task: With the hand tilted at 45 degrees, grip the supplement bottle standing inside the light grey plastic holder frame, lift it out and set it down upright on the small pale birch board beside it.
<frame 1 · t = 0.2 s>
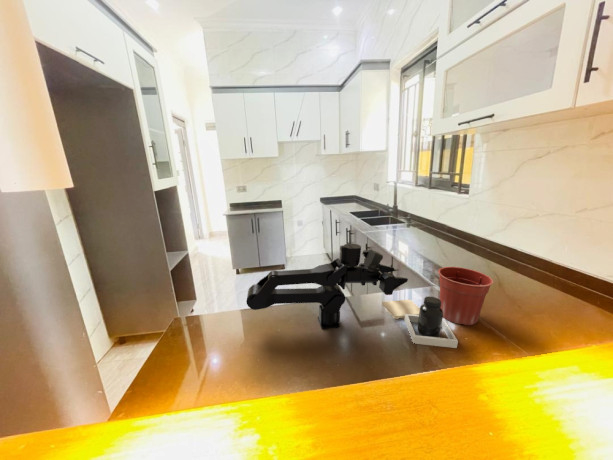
hand: (400, 274, 88), 17 cm above the worktop, tool horizontal, fingers open, 9 cm apart
holder frame: (428, 332, 83), on the worktop
flower pot: (457, 316, 92), on the worktop
birch board: (402, 310, 96), on the worktop
supplement bottle: (428, 333, 83), resting in holder frame
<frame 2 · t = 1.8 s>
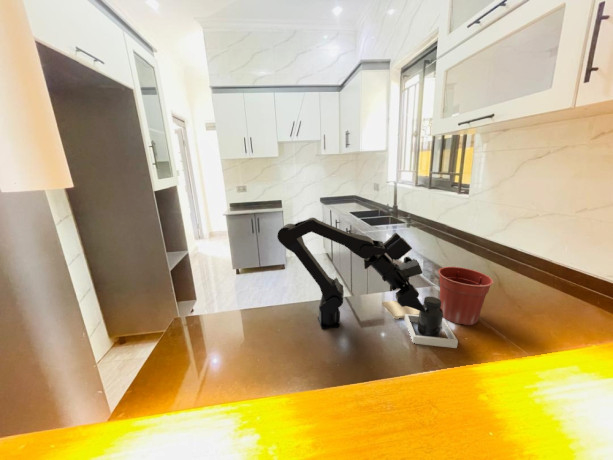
hand: (419, 302, 81), 11 cm above the worktop, tool tilted 45°, fingers open, 9 cm apart
nothing on the worktop moved.
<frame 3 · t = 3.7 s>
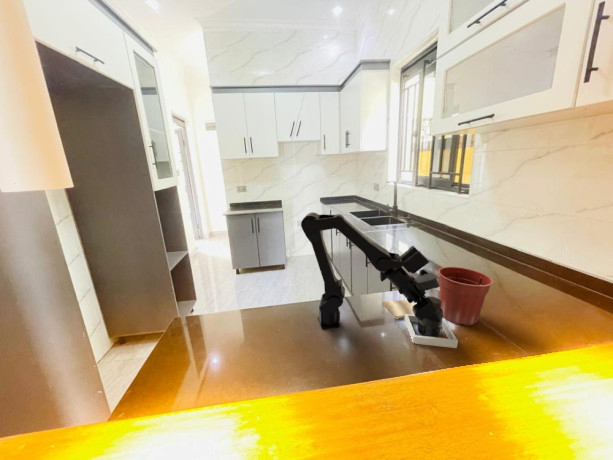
hand: (435, 315, 81), 7 cm above the worktop, tool tilted 45°, fingers closed on supplement bottle, 7 cm apart
supplement bottle: (428, 333, 83), resting in holder frame, touching gripper
everything else where it was.
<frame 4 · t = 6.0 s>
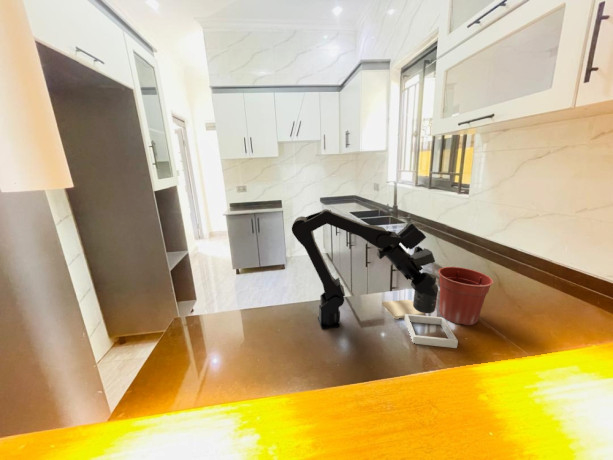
hand: (430, 290, 83), 13 cm above the worktop, tool tilted 45°, fingers closed on supplement bottle, 7 cm apart
supplement bottle: (423, 309, 85), point 6 cm above the worktop, touching gripper
everything else where it was.
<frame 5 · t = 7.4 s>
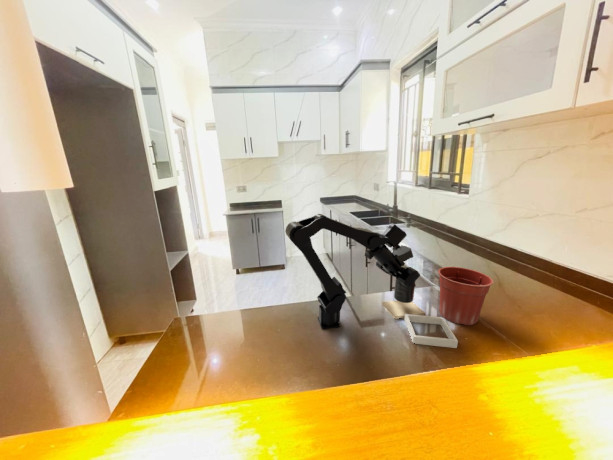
hand: (408, 282, 94), 11 cm above the worktop, tool tilted 45°, fingers closed on supplement bottle, 7 cm apart
supplement bottle: (403, 299, 95), point 5 cm above the worktop, touching gripper
everything else where it was.
when the fingers open (9 cm above the worktop, at t = 8.5 s): supplement bottle stays where it is, resting on birch board.
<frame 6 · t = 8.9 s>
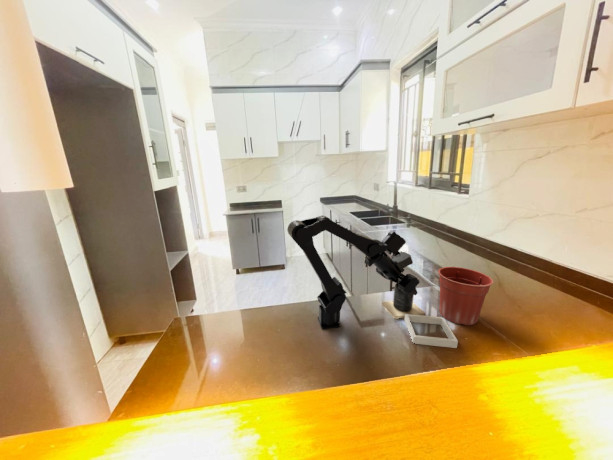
hand: (408, 288, 94), 9 cm above the worktop, tool tilted 45°, fingers open, 9 cm apart
supplement bottle: (402, 307, 96), point 1 cm above the worktop, touching birch board
everything else where it was.
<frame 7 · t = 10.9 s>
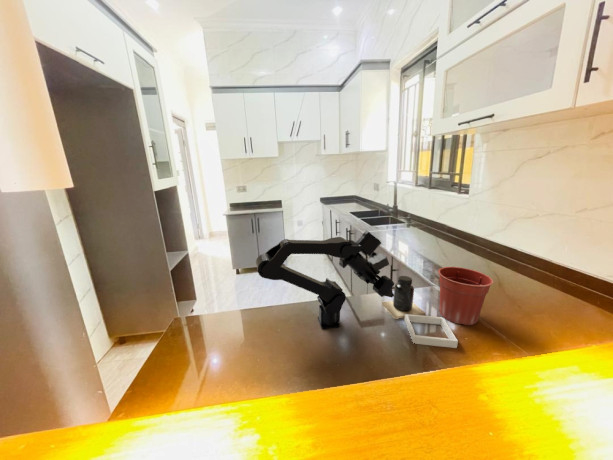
hand: (385, 290, 92), 9 cm above the worktop, tool tilted 45°, fingers open, 9 cm apart
nothing on the worktop moved.
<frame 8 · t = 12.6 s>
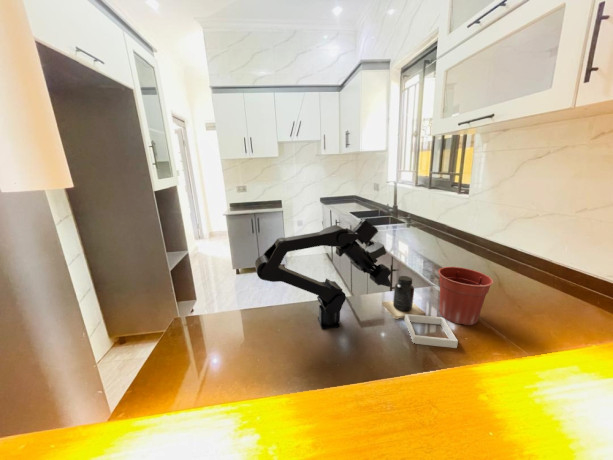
hand: (382, 280, 90), 14 cm above the worktop, tool tilted 45°, fingers open, 9 cm apart
nothing on the worktop moved.
at the end: supplement bottle inside the target area on the birch board (0.2 cm from its centre), point 1.0 cm above the birch board's base; supplement bottle tilted 0°; the gripper is holding nothing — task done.
